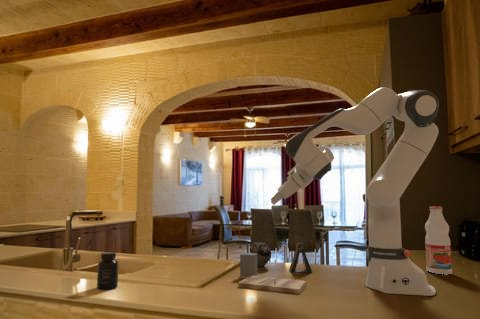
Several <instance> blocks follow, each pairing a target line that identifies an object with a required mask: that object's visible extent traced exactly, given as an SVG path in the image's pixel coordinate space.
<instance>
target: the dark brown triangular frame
mask: <svg viewBox="0 0 480 319" xmlns="http://www.w3.org/2000/svg"><path fill="white" fill-rule="evenodd" d="M300 245H301V247H300ZM299 247H300V248H299ZM305 248H306V246H305V245H304V243H302V242H296V243H295V251H294V255H293V257H292V260H291V263H290V267H289V271H290V273H291V274H301V273H302V274H312V273H313V271H312V268H311V264H310V263H309V259H308V257H307V254H306V252H305ZM300 254H301V257H302V261H303V264H304V267H305V268H297V265H298V261H299V257H300Z"/></svg>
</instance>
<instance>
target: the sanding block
mask: <svg viewBox="0 0 480 319" xmlns="http://www.w3.org/2000/svg"><path fill="white" fill-rule="evenodd" d="M239 257H240V258H239V278H243V279H245V278H247V277H248V276H258V270H257V253H250V252H242V253H240V255H239Z"/></svg>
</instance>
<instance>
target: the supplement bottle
mask: <svg viewBox="0 0 480 319" xmlns="http://www.w3.org/2000/svg"><path fill="white" fill-rule="evenodd" d="M116 254H117V253H116V252H115V251H113V252H112V251H111V252H110V251H108V252H102V253H101V254H100V255H101V256H100V259H101V260H99V262H98V264H97V275H96V276H97V277H96V278H97V279H96V288H97V289H98V290H99V291H107V290H113V289H116V288H117V287H118V284H119V283H118V282H119V281H118V280H119V261H118V260H117V259H116V257H117V256H116Z"/></svg>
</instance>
